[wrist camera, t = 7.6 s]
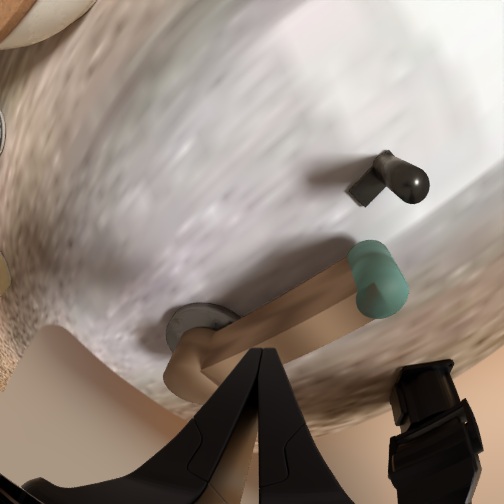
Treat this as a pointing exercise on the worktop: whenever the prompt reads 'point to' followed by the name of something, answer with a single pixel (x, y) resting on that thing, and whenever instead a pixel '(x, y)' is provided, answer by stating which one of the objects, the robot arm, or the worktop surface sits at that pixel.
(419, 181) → the dark grey pieces
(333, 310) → the capstan lever
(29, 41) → the lidded bowl
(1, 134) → the pill bottle
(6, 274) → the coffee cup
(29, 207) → the worktop surface
